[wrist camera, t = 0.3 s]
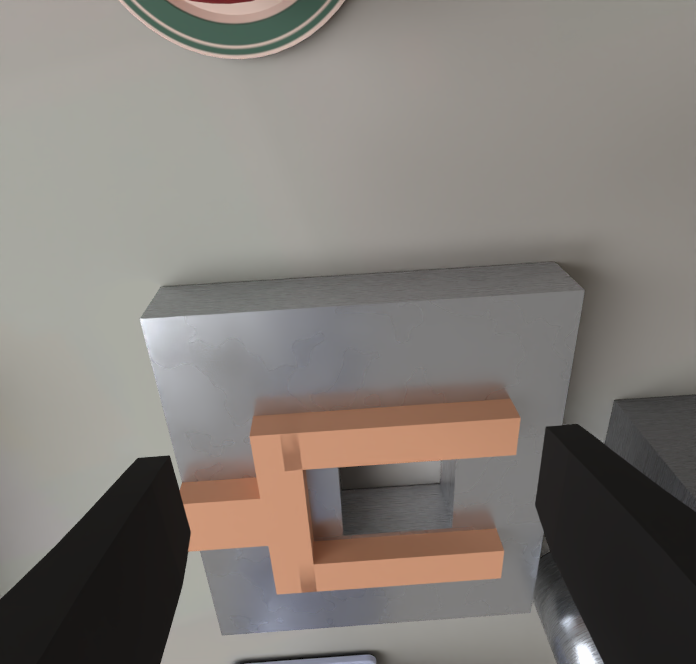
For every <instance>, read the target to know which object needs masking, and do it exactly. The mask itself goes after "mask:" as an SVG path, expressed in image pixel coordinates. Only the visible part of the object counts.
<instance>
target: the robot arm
mask: <svg viewBox="0 0 696 664" xmlns="http://www.w3.org/2000/svg"><path fill="white" fill-rule="evenodd" d="M535 507H536V510H537V513H538V516H539V519H540V522H541V525H542V528H543V531H544V534H545V537H546V540H547V543H548V545H549V548H550V551H551V554H552V556H553V559H554V561H555V563H556V565H557V567H558V569H559V571H560V573H561V576H562V578H563V580H564V582H565V584H566V586H567V588H568V590H569V592H570V595H571V597H572V599H573V601H574V603H575V605H576V607H577V609H578V611H579V613H580V615H581V617H582V619H583V621H584V623H585V625H586V628H587V630H588V632H589V634H590V636H591V638H592V640H593V642H594V644H595V646H596V648H597V650H598V652H599V654H600V656H601V659H602V661H603V663H604V664H696V512H695V511H694V510H692V509H691V508H689V507H688V506H687V505H685V504H684V503H682V502H681V501H680V500H678V499H677V498H675V497H674V496H673V495H671V494H670V493H668V492H667V491H666V490H664V489H663V488H662V487H660V486H659V485H658V484H656V483H655V482H653V481H652V480H651V479H649V478H648V477H647V476H645V475H644V474H643V473H641V472H640V471H639V470H637V469H636V468H635V467H634V466H632V465H631V464H630V463H628V462H627V461H626V460H624V459H623V458H622V457H620V456H619V455H618V454H617V453H615V452H614V451H613V450H611V449H610V448H609V447H607V446H606V445H605V444H604V443H602V442H601V441H600V440H598V439H597V438H596V437H594V436H593V435H592V434H590V433H589V432H588V431H586V430H585V429H584V428H582V427H581V426H579V425H578V424H572V425H559V426H546V428H545V435H544V443H543V450H542V457H541V465H540V472H539V479H538V487H537V494H536V501H535ZM190 536H191V530H190V527H189V523H188V519H187V516H186V512H185V509H184V505H183V501H182V498H181V494H180V491H179V487H178V483H177V480H176V476H175V473H174V469H173V466H172V462H171V458H170V456H158V457H145V458H137V459H136V460H135V462H134V463H133V464H132V465H131V466H130V467H129V468H128V469H127V470H126V471H125V472H124V473H123V474H122V475H121V476H120V478H119V479H118V480H117V481H116V482H115V483H114V484H113V485H112V486H111V487H110V488H109V489H108V491H107V492H106V493H105V494H104V495H103V496H102V497H101V498H100V499H99V500H98V501H97V502H96V504H95V505H94V506H93V507H92V508H91V509H90V510H89V511H88V512H87V513H86V514H85V515H84V516H83V518H82V519H81V520H80V521H79V522H78V523H77V524H76V525H75V526H74V527H73V528H72V529H71V530H70V531H69V532H68V533H67V534H66V535H65V536H64V537H63V538H62V540H61V541H60V542H59V543H58V544H57V545H56V546H55V547H54V548H53V549H52V550H51V551H50V552H49V553H48V554H47V555H46V556H45V557H44V558H43V559H41V560H40V561H39V562H38V563H37V564H36V565H35V566H34V567H33V568H32V569H31V570H30V571H29V572H28V573H27V574H26V575H25V576H24V577H23V578H22V579H21V580H20V581H19V582H18V583H17V584H16V585H15V586H14V587H13V588H12V589H11V590H10V591H9V592H8V593H7V594H5V595H4V596H3V597H2V598H1V599H0V664H160V663H161V659H162V656H163V652H164V649H165V645H166V642H167V639H168V635H169V632H170V628H171V625H172V621H173V618H174V614H175V610H176V607H177V603H178V600H179V596H180V593H181V589H182V585H183V580H184V574H185V568H186V562H187V556H188V549H189V542H190ZM246 664H376V658H375V657H374V656H373V655H353V656H340V657H326V658H313V659H299V660H286V661H272V662H259V663H246Z"/></svg>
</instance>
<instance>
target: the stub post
mask: <svg viewBox="0 0 696 664" xmlns="http://www.w3.org/2000/svg"><path fill="white" fill-rule="evenodd" d="M533 602H534V604H535V607H536V610H537V612H538V615H539V617H540V620H541V623H542V625H543V628H544V631H545V633H546V636H547V639H548V641H549V644H550V646H551V649H552V652H553V654H554V657H555V660H556V662H557V664H604V663H603V661H602V659H601V656H600V654H599V652H598V650H597V648H596V646H595V644H594V642H593V640H592V638H591V636H590V634H589V632H588V630H587V628H586V625H585V623H584V621H583V619H582V617H581V615H580V613H579V611H578V609H577V607H576V605H575V603H574V601H573V599H572V597H571V595H570V592H569V590H568V588H567V586H566V584H565V582H564V580H563V578H562V576H561V573H560V571H559V569H558V567H557V565H556V563H555V561H554V559H553V556H552V554H551V552H550V553H548V554H546V555H545V556H543V557H542V558H540V559H539V565H538V571H537V576H536V582H535V588H534V594H533Z"/></svg>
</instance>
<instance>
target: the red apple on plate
mask: <svg viewBox="0 0 696 664" xmlns="http://www.w3.org/2000/svg"><path fill="white" fill-rule="evenodd" d="M119 1H120V2H121V3H122V4H123V5H124V6H125V7H126V9H127V10H128V11H129V12H130V13H131V14H132V15H134V16H135V17H136V18H137V19H138V20H140V21H141V22H142V23H143V24H144V25H146V26H147V27H148V28H150V29H151V30H153V31H154V32H156V33H157V34H159V35H160V36H162V37H163V38H165V39H166V40H168V41H171V42H173V43H175V44H177V45H179V46H181V47H183V48H185V49H188V50H191V51H194V52H197V53H200V54H203V55H208V56H213V57H218V58H228V59H247V58H257V57H262V56H266V55H270V54H274V53H277V52H280V51H282V50H284V49H287V48H289V47H292V46H294V45H296V44H297V43H299V42H301V41H302V40H304V39H306V38H307V37H309V36H310V35H312V34H313V33H314V32H315V31H316V30H318V29H319V28H320V27H321V26H323V25H324V24H325V23H326V22H327V21H328V20H329V19H330V18H331V17H332V16H333V14H334V13H335V12H336V11H337V10H338V9H339V8H340V6H341V5H342V3H343V2H344V1H345V0H119Z"/></svg>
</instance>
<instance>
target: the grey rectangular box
mask: <svg viewBox="0 0 696 664" xmlns="http://www.w3.org/2000/svg"><path fill="white" fill-rule="evenodd" d="M605 445H606V446H607V447H609V448H610V449H611V450H613V451H614V452H615V453H617V454H618V455H619V456H620V457H622V458H623V459H624V460H626V461H627V462H628V463H630V464H631V465H632V466H634V467H635V468H636V469H637V470H639V471H640V472H641V473H643V474H644V475H645V476H647V477H648V478H649V479H651V480H652V481H653V482H655V483H656V484H658V485H659V486H660V487H662V488H663V489H664V490H666V491H667V492H668V493H670V494H671V495H673V496H674V497H675V498H677V499H678V500H680V501H681V502H682V503H684V504H685V505H687V506H688V507H689V508H691V509H692V510H694V511H695V512H696V395H684V396H669V397H654V398H640V399H625V400H614V404H613V409H612V413H611V418H610V422H609V427H608V431H607V436H606V440H605Z"/></svg>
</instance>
